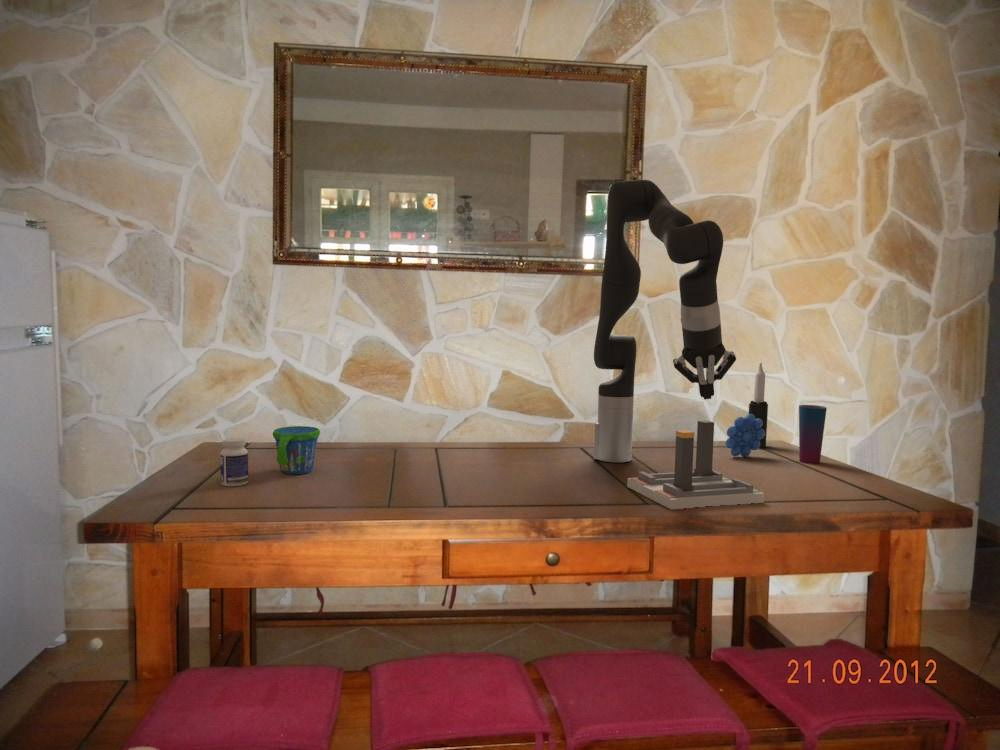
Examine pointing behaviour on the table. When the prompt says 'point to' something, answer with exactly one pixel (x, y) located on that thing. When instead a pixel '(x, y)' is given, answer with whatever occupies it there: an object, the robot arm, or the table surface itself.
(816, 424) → the cup
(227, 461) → the pill bottle
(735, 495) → the panel
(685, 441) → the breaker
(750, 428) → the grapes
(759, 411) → the candle
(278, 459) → the snack cup
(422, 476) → the table surface
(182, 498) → the table surface
